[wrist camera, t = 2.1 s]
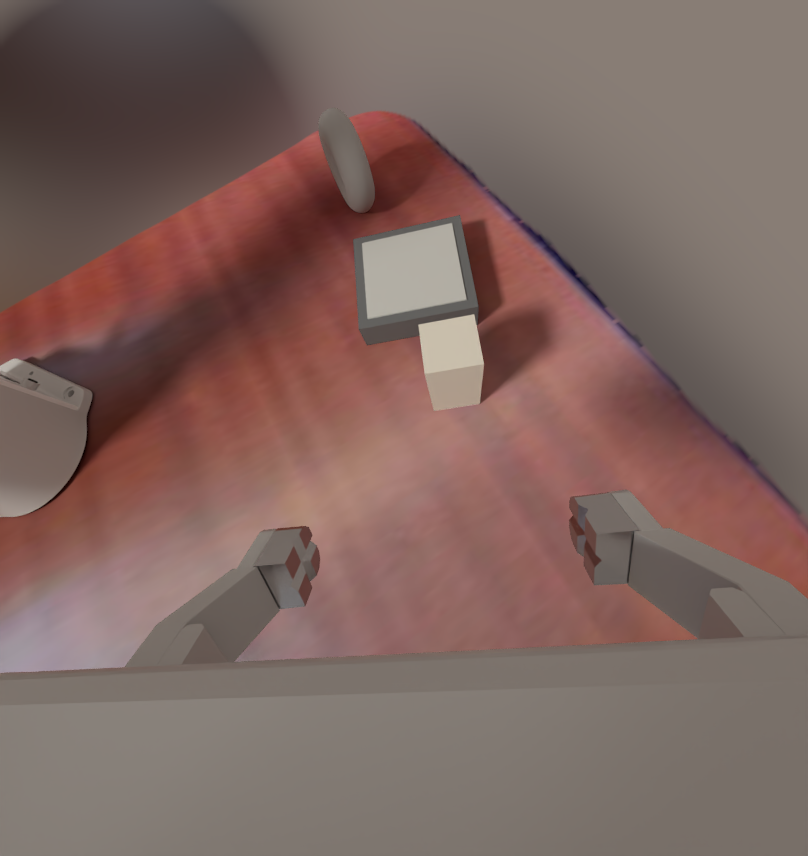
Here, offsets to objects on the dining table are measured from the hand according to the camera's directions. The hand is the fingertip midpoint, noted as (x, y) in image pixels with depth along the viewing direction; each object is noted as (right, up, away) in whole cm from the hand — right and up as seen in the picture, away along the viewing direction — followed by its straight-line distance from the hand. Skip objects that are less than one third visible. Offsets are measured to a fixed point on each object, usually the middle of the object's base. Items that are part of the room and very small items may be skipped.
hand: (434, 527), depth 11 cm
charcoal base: (0, +19, +28) cm, 33 cm away
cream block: (+4, +7, +23) cm, 25 cm away
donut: (-7, +32, +34) cm, 47 cm away
